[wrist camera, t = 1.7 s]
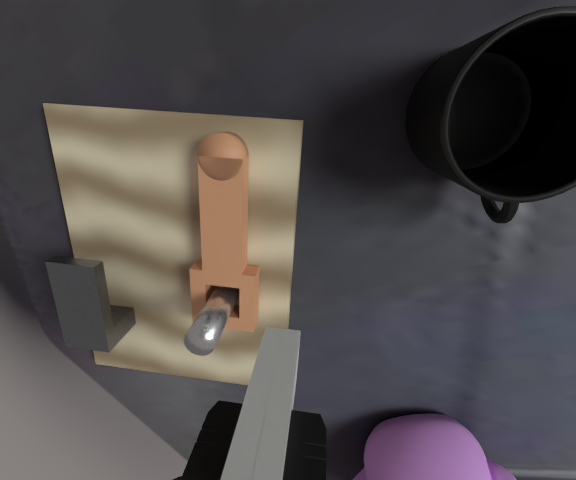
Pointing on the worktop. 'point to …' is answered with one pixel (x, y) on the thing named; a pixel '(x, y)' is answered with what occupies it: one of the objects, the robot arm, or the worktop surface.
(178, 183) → the board
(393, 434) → the teapot
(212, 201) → the link
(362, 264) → the worktop surface
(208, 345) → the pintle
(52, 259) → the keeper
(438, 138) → the mug
